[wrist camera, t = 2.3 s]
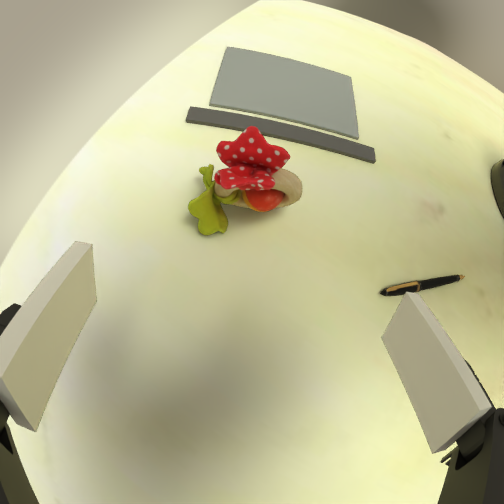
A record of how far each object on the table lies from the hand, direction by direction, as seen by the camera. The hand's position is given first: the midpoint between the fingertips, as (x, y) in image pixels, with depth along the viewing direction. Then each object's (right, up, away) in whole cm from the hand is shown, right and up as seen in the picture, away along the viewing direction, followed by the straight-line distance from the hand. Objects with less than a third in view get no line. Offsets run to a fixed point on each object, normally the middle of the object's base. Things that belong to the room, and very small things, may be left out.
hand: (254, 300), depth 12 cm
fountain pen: (+19, -2, +19) cm, 27 cm away
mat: (+4, +21, +22) cm, 31 cm away
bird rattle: (-1, +6, +17) cm, 18 cm away
